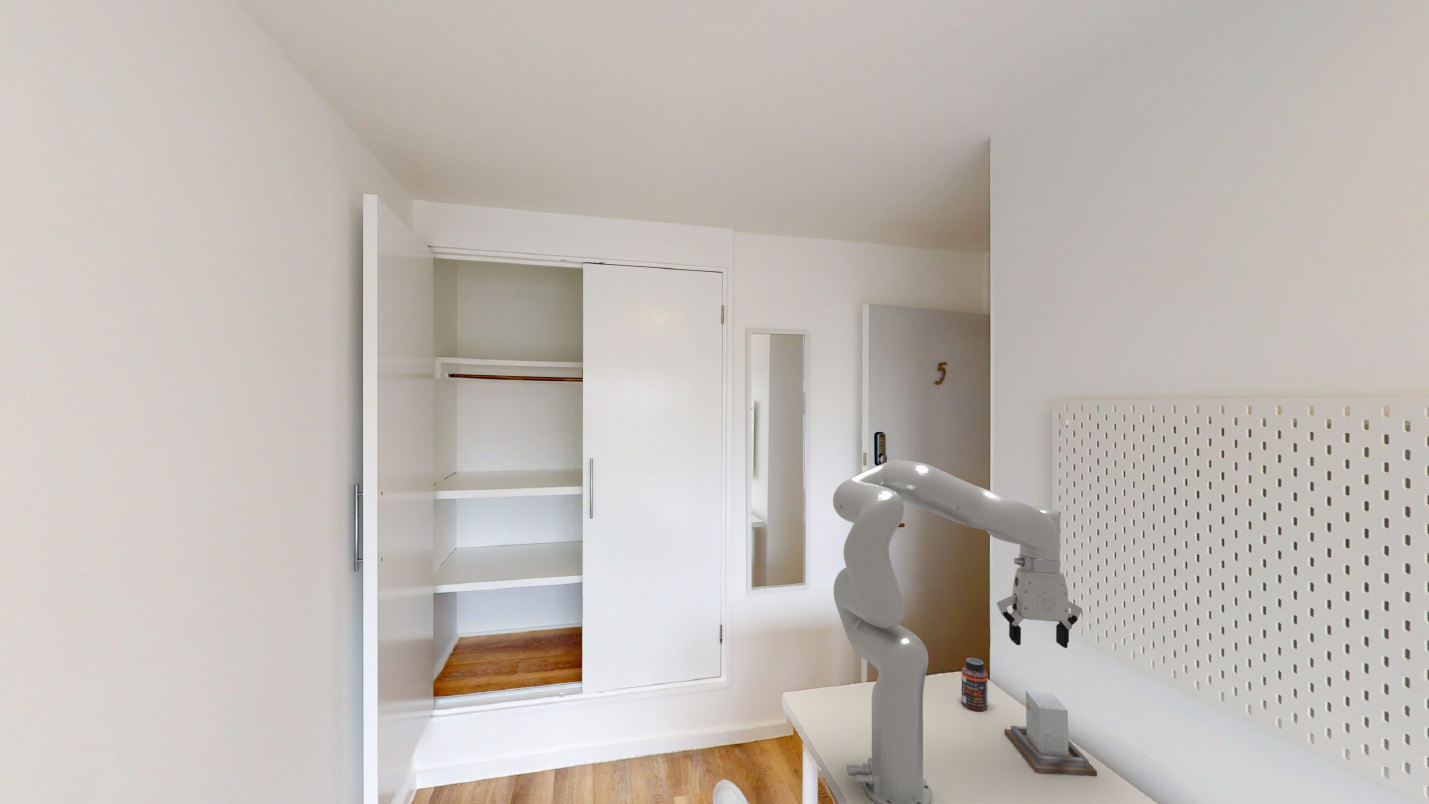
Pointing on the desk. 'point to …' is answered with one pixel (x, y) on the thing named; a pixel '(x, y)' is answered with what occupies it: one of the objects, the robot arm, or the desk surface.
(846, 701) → the desk surface
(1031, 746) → the brown flat frame
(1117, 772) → the desk surface
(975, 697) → the supplement bottle
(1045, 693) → the small box
